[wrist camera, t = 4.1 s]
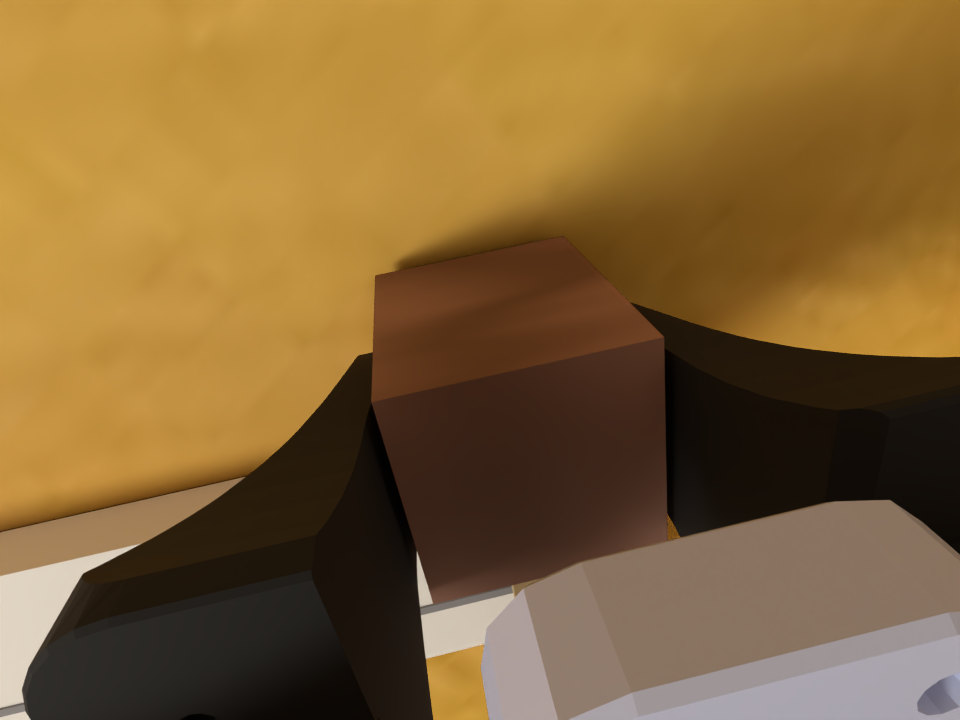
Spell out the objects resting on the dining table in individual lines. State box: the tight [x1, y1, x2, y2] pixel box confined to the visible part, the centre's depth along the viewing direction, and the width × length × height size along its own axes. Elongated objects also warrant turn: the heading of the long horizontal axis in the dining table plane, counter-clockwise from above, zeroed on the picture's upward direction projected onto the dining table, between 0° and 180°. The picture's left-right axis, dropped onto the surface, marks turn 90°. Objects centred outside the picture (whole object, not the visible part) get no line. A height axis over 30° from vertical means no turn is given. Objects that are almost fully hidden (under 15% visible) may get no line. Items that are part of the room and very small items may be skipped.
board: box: [0, 477, 514, 720], centre depth 15 cm, size 22×6×2 cm, turn 99°
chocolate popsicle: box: [371, 236, 668, 604], centre depth 12 cm, size 4×10×5 cm, turn 9°
